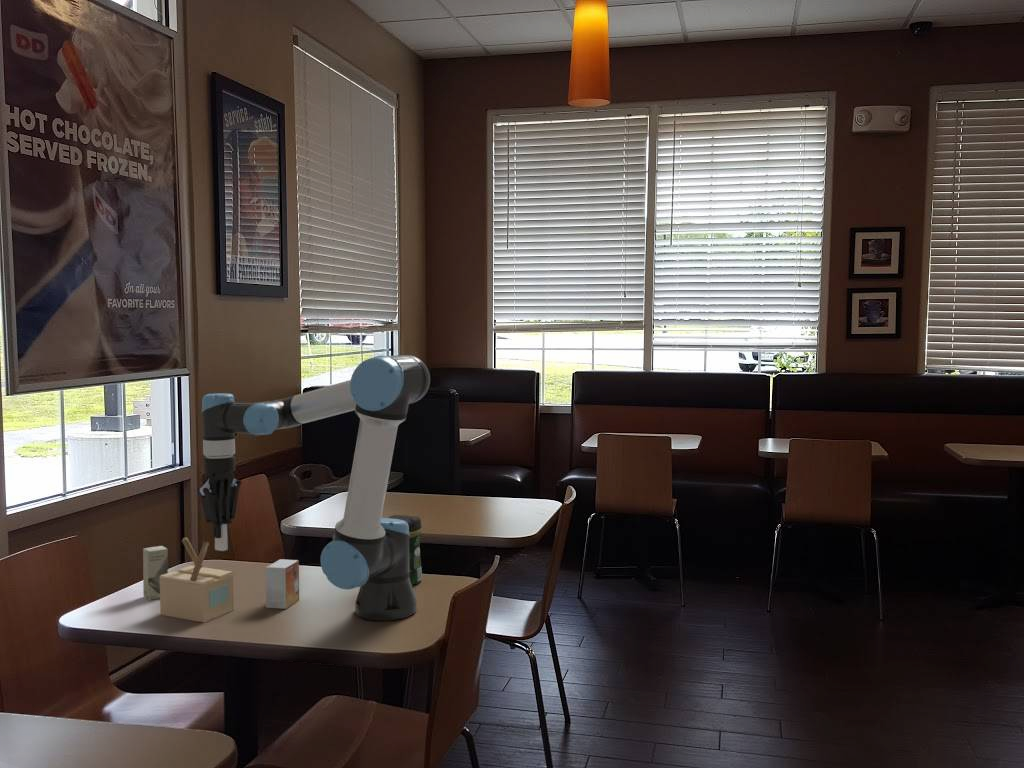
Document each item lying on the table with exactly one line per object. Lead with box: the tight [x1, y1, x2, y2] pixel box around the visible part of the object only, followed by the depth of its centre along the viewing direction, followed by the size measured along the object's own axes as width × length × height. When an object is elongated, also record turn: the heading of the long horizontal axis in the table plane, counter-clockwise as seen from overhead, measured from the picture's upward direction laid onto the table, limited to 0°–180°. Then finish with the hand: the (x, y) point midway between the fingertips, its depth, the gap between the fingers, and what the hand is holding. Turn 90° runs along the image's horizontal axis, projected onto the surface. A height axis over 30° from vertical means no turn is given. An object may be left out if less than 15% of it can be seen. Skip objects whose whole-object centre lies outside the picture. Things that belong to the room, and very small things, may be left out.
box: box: [142, 545, 169, 601], centre depth 227 cm, size 5×4×13 cm
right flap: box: [178, 537, 233, 578], centre depth 216 cm, size 14×6×9 cm, turn 65°
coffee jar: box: [387, 514, 423, 586], centre depth 240 cm, size 10×8×19 cm
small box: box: [264, 558, 300, 610], centre depth 221 cm, size 8×6×10 cm
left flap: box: [160, 540, 215, 585], centre depth 212 cm, size 14×6×9 cm, turn 65°
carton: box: [159, 571, 235, 623], centre depth 215 cm, size 14×10×9 cm
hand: (221, 549), depth 217 cm, fingers closed
